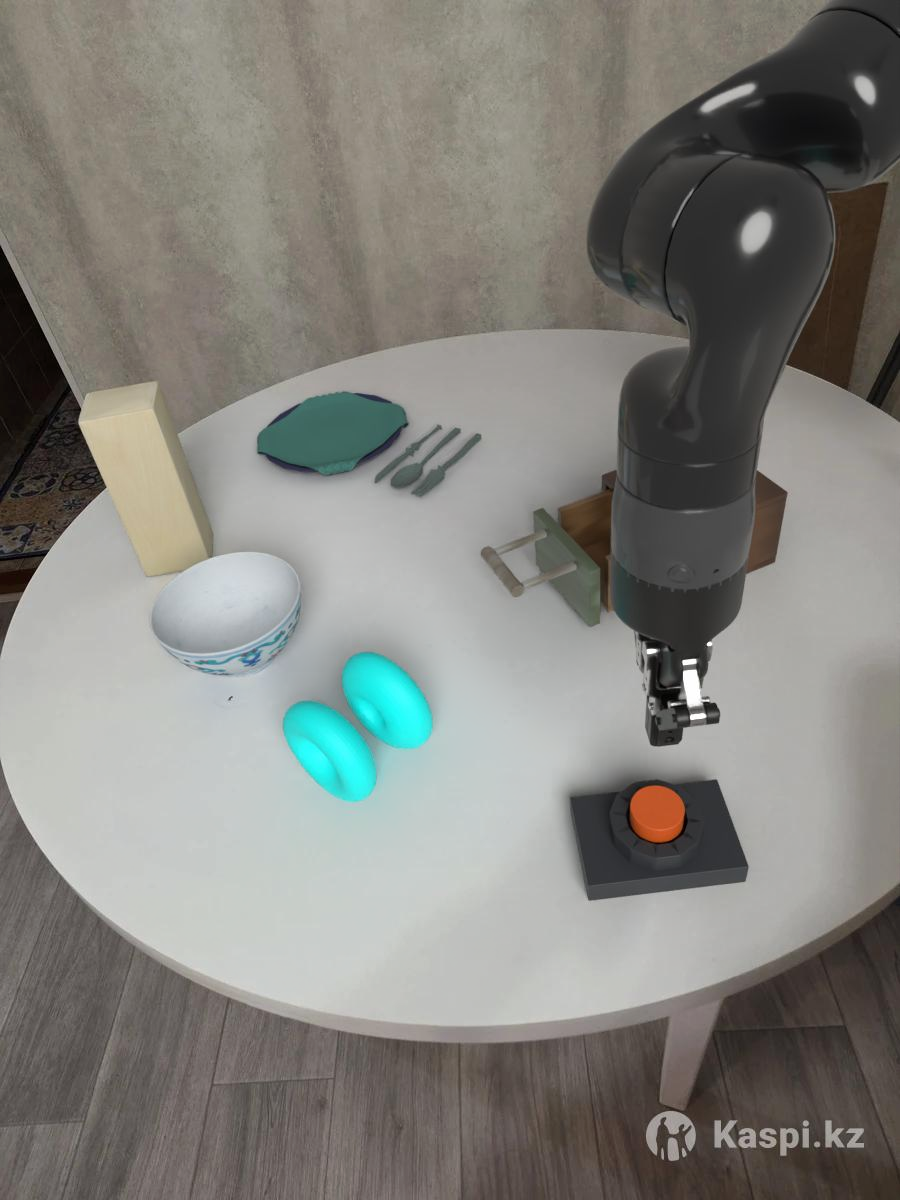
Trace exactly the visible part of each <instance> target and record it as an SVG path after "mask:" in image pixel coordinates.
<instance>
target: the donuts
mask: <svg viewBox="0 0 900 1200" xmlns="http://www.w3.org/2000/svg"><path fill="white" fill-rule="evenodd" d="M341 687H342V692H343V694H344V698H345V700H346V702H347V704H348V706H349V708H350V710H351V711H352V712H353V714H354V716H355V717H356V718H357V719H358V721H359V722H360V723H361V724H362V726H363V727H365V729H367V730H368V731H369V732H370V734H372V735H373V736H374V737H376V738H377V739H378V740H380V741H381V742H383V743H385V744H386V745H389V746H391V747H393V748H396V749H402V750H414V749H416V748H419V747H421V746H423V745H424V744H425V743H426V742H427V741H428V740H429V739H430V736H431V735H432V731H433V728H434V727H433V726H434V719H433V712H432V710H431V707H430V705H429V702H428V700H427V698H426V696H425V695H424V693H423V691H422V690H421V688H420V686H418V684H417V683H416V682H415V680H414V679H413V678H412V677H411V675H410V674H409V673H408V672H406V670H404V669H403V668H402V667H401V666H400V665H398V664H397V663H396V662H395V661H393V660H392V659H390V658H388V657H386V656H385V655H382V654H380V653H377V652H373V651H362V652H358V653H356V654H354V655H352V656H351V657H350V658H348V659H347V661H346V662H345V664H344V666H343V668H342V673H341ZM282 730H283V734H284V739H285V741H286V743H287V745H288V747H289V749H290V750H291V752H292V753H293V755H294V757H295V759H296V760H297V761H298V763H299V764H300V765H301V767H302V768H303V769H304V770H305V771H306V773H307V774H308V775H309V777H311V778H312V779H313V780H314V781H315V782H316V783H317V784H318V785H319V786H320V787H321V788H323V789H324V790H325V791H326V792H327V793H329V794H330V795H332V796H333V797H335V798H338V799H340V800H341V801H345V802H349V803H351V802H352V803H357V802H360V801H364V800H365V799H367V798H368V797H369V796H370V795H371V794H372V792H373V791H374V790H375V787H376V784H377V778H378V777H377V766H376V762H375V759H374V756H373V753H372V751H371V749H370V747H369V746H368V743H367V742H366V740H365V739H364V737H363V736H362V735H361V734H360V733H359V731H358V730H357V728H356V727H355V726H354V725H353V724H352V723H351V722H350V721H349V720H348V719H347V718H346V717H345V716H343V714H341V713H340V712H338V711H337V710H335V709H333V707H330V706H328V705H326V704H324V703H322V702H319V701H314V700H302V701H297V702H296V703H294V704H292V705H291V706H290V707H288V708H287V710H286V712H285V714H284V716H283V719H282Z"/></svg>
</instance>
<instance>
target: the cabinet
mask: <svg viewBox="0 0 900 1200" xmlns="http://www.w3.org/2000/svg"><path fill="white" fill-rule="evenodd" d="M616 475H617V469H614V470H612V471H609V472H605V473H604V474H603V473H602V474H601V492H603V491H606V490H608V489H611V490H612V491H613V492H614V488H615V482H616ZM788 493H789V492H788V491H787V490H785V489H784V488H783V487H782V486H780V485H778V484H777V483H776V482H775V481H773V480H772V479H770V478H769V477H768V476H766V475H765V474H763V473H762V472H761V471H759V470H758V469H757V473H756V480H755V519H754V526H753V532H752V539H751V545H750V552H749V558H748V565H747V571H746V575H747V574H749V573H753V572H755V571H757V570H759V569H762V568H764V567H767V566H770V565H771V564H775V563H776V560H777V554H778V548H779V542H780V539H781V532H782V526H783V522H784V515H785V509H786V505H787V498H788Z"/></svg>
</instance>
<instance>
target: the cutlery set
mask: <svg viewBox="0 0 900 1200" xmlns="http://www.w3.org/2000/svg"><path fill="white" fill-rule="evenodd" d="M409 425H410V423H409V421H408V418H407V413H406V410H405V408H404V407H403V406H401V405H400V404H398V403H393V402H392V401H390V400H388V399H386V398H383V397H381V396H380V395H379V396H378V395H375V394H369V393H363V392H361V393H360V392H350V391H347V390H344V391H341V392H338V391H336V392H334V393H331V392H330V393H328V394H322V395H315V396H313V397H308V398H305V400H304V401H302V402H301V403H298V404H295V405H294V406H292V407H290V408H288V409H286V410H284V411H283V412H281V413H279V414H278V415H277V416H276V417H275V418H274V419H272V421H270V423H268V424H267V426H266V427H265V428H263V429H261V431H259V432H258V435H257V437H256V442H257V443H256V444H257V445H256V447H257V449H256V454H257V455H260V456H265V457H266V458H267V459H268V461H269V462H271V463H273V464H275V465H277V466H279V467H281V468H282V469H287V470H290V471H291V470H292V471H296V472H302V473H309V472H310V473H312V472H313V473H317V472H319V474H322V475H325V476H330V475H334V474H335V475H336V474H338V473H345V472H351V471H352V470H353V469H354V467H355V466H356V465H358V464H360V463H363V462H366V461H368V460H371V459H373V458H374V457H376V456H377V455H379V454H380V453H382V452H384V451H386V450H387V449H388V448H389V447H390V446H391V445H392V444H393V443H394V442H395V441H396V440H397V438H398V437H400V435H401V431H402V428H407V427H408V426H409ZM442 430H443V427H442V425H441V424H438V423H437V424H436V427H434V428H433V429H432V430H431V431H430V432H429V433H428V434H426V435H425V436H424V437H422V438H421V439H419V440H418V441H416V442H413V443H410V446H409V447H405V452H404V453H402V454H400V455H399V456H397V457H396V458H395V459H393V460H392V461H391V462H390V463H389V464H387V465H386V466H385V467H384V468H383V469H381V470H380V471H379V472H378V473H377V474H376V475H375V476H374V484H377V483H379V482H380V481H381V480H382V479H383V478H384V477H386V476H387V475H388V474H389V473H390V472H392V471H393V470H394V469H395V468H397V467H398V466H399V465H400V464H401V463H403V461H405V460H406V459H407V458H409V456H410V457H413V458H414V457H415V456H414V455H415V454H414V453H415V452H417V451H419V450H420V447H421V445H422V444H423V443H425V441H427V440H428V439H429V438H430V437H431V436H433V435H434V434H435V433H437V432H438V431H442ZM460 434H462V432H461V428H459V427H454V428H453V429H451V431H449V432H448V433H447V435H446V436H444V437H443V438H442V440H441V441H439V443H437V444H436V445H435V447H434V448H432V450H430V452H429V453H428V454H427V455H426V456H425V457H424V458H423V459H422V461H421V462H415V463H412V464H407V465H405V466H404V467H402V468H400V469H399V470H397V471H396V472H395V473H394V474H393V476H392V477H391V478H390V485H389V487H392V488H397V489H400V488H403V487H407V486H410V485H412V484H413V483H415V482H416V481H418V480H419V479H420V477H421V476H422V475H423V472H424V465H425V464H426V463H428V461H429V460H430V459H431V458H433V457H434V456H435V455H436V454H437V453H438V452H439V451H440V450H441V449H442V448H443V447H445V446H447V444H449V442H451V441H452V440H453V439H454V438H456V437H458V435H460ZM480 441H482V434H481V433H477V432H476V433H475V434H474V435H473V436H472V437H471V438H470V439H469V440H468V441H467V442H466V443H465V444H464V445H463V446H462V447H461V448H460V450H458V451H457V452H456V454H454V455H453V456H452V457H451V458H450V459H449V460H447V461H446V462H444V463H443V464H442V465H437V468H435V469H430V471H429V473H428V474H427V475H426V477H424V478H423V480H422V481H421V482H420V484H418V485H417V487H415V488H414V490H412V491H411V492H410V495H414V496H416V497H417V496H418V497H419V498H421V497H423V496H424V495H425V494H427V493H428V492H429V491H430V490H432V489H433V488H434V487H435V486H437V485H438V484H440V482H442V481H443V480H444V479H445V475H446V471H447V470H448V469H449V468H451V467H452V466H454V465H455V464H457V462H459V461H460V460H461V459H462V458H463V457H464V456H465V455H466V454H467V453H468V452H469V451H470V450H471V449H472V448H473V447H474V446H475V445H476V444H477V443H479V442H480Z"/></svg>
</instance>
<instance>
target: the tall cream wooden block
mask: <svg viewBox="0 0 900 1200" xmlns="http://www.w3.org/2000/svg"><path fill="white" fill-rule="evenodd" d="M161 387H162V386H161V384H160V383H159V381H158V380H153V381H148V382H147V381H146V382H142V383H141V382H140V383H136V384H130V385H124V386H120V387H114V388H108V389H103V390H96V391H91V392H87V393H86V395H85V397H84V401H83V403H82V406H81V410H80V413H79V416H78V422H77V423H78V426H79V429H80V431H81V433H82V435H83V437H84V440H85V442H86V444H87V446H88V449H89V452H90V453H91V456H92V458H93V460H94V462H95V465H96V467H97V469H98V471H99V473H100V477H101V479H102V480H103V482H104V485H105V487H106V489H107V491H108V494H109V496H110V498H111V500H112V503H113V505H114V507H115V509H116V512H117V515H118V516H119V519H120V521H121V523H122V526H123V527H124V530H125V532H126V535H127V537H128V539H129V541H130V544H131V546H132V549H133V550H134V553H135V555H136V557H137V559H138V562H139V564H140V566H141V568H142V570H143V573H144V575H145V576H146V577H147V578H148V577H149V578H150V577H155V576H156V577H157V576H162V575H166V574H173V573H178V572H183V571H184V570H186V569H188V568H189V567H191V566H193V565H195V564H197V563H199V562H202V561H204V560H207V559H209V558H212V557H213V546H214V532H213V529H212V525H211V523H210V520H209V518H208V514H207V512H206V508H205V506H204V503H203V501H202V498H201V495H200V493H199V490H198V487H197V484H196V482H195V478H194V476H193V472H192V470H191V468H190V465H189V462H188V459H187V456H186V453H185V451H184V448H183V446H182V442H181V440H180V437H179V434H178V431H177V428H176V426H175V423H174V421H173V418H172V415H171V411H170V409H169V406H168V404H167V401H166V398H165V396H164V393H163V392H164V391H163V390H162V388H161Z"/></svg>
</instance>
